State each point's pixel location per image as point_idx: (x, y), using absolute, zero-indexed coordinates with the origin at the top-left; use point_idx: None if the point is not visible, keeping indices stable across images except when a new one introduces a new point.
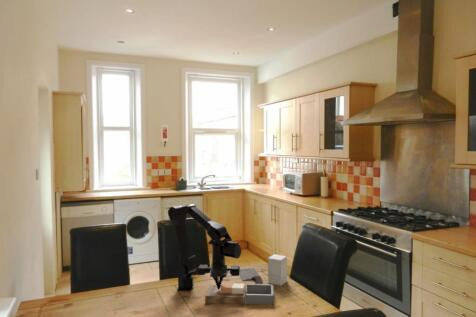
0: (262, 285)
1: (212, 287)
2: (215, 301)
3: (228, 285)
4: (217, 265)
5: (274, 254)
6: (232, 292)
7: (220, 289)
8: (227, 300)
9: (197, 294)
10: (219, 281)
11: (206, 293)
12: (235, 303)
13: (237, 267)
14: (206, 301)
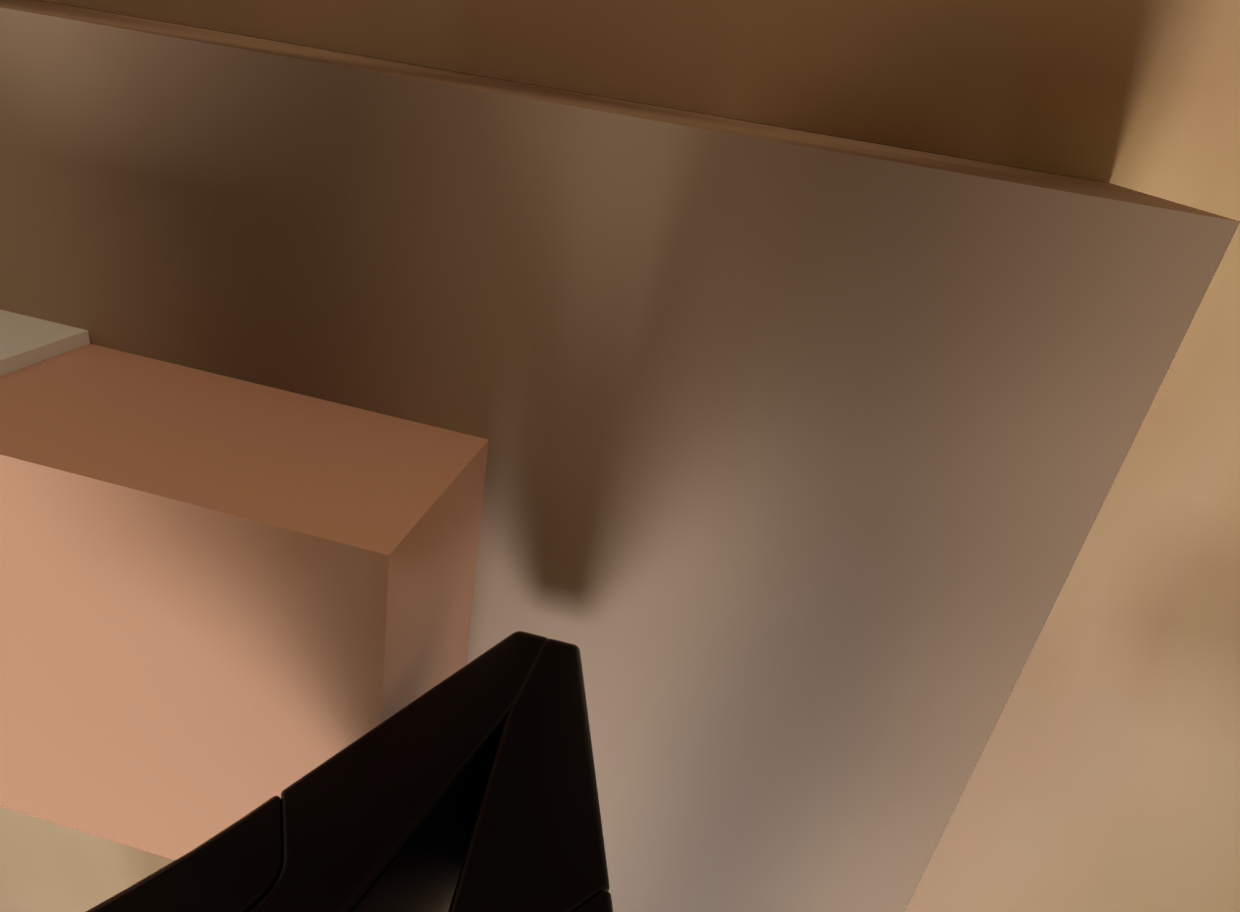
0: None
1: (769, 870)
2: (730, 120)
3: (85, 661)
4: None
5: None
6: (39, 334)
7: None
8: (288, 49)
9: (1213, 780)
10: (335, 894)
11: (1091, 482)
12: (104, 13)
13: None
14: (1075, 178)
